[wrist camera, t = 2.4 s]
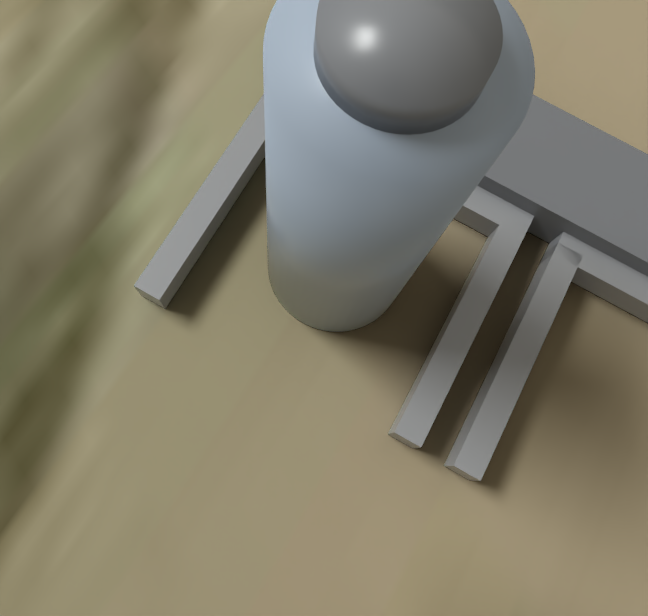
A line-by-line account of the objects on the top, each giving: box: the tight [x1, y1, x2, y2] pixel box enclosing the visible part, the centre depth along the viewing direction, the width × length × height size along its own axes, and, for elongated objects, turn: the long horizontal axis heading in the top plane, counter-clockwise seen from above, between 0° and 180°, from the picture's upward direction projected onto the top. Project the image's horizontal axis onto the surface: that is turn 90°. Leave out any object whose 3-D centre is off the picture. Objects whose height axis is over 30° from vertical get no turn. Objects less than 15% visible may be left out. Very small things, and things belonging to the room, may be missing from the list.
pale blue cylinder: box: [263, 0, 535, 332], centre depth 17 cm, size 5×5×13 cm
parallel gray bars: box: [134, 94, 648, 481], centre depth 22 cm, size 24×14×2 cm, turn 61°
